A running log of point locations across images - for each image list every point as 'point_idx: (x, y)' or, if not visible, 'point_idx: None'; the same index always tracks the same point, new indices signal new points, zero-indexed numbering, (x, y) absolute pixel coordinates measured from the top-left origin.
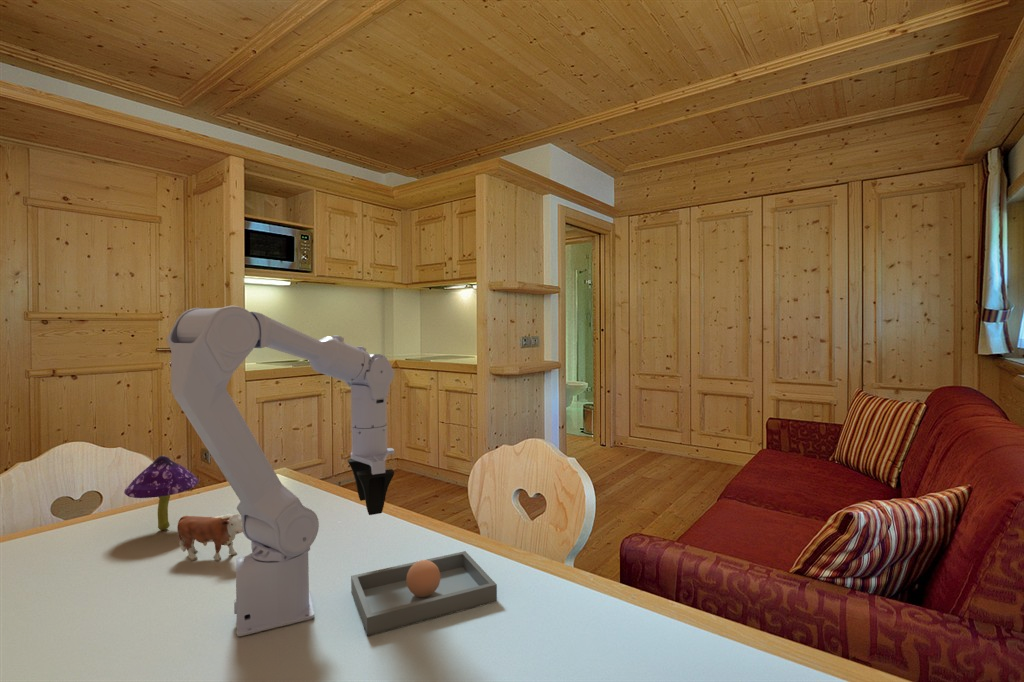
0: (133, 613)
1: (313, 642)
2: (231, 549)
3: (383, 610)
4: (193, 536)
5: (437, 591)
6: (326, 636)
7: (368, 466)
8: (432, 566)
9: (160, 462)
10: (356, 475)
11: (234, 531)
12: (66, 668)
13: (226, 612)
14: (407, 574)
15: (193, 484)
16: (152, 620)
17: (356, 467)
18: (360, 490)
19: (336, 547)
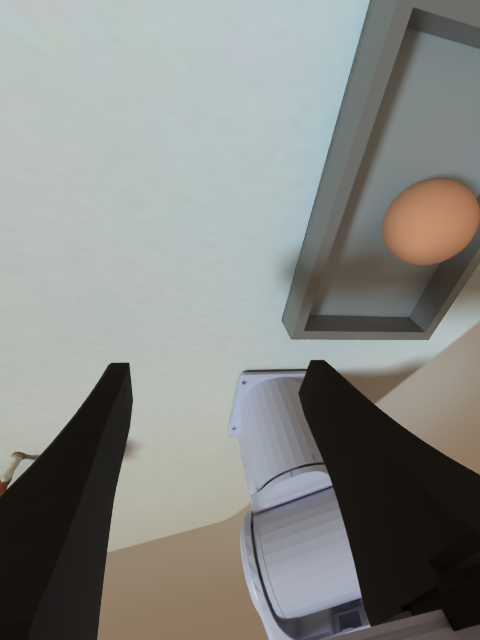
0: (173, 495)
1: (364, 372)
2: (15, 467)
3: (435, 317)
4: None
5: (417, 178)
6: (365, 360)
7: (82, 578)
8: (477, 216)
9: None
10: (107, 541)
11: None
12: (246, 501)
13: (227, 439)
14: (411, 263)
15: None
16: (200, 482)
17: (95, 609)
18: (125, 441)
19: (37, 312)
